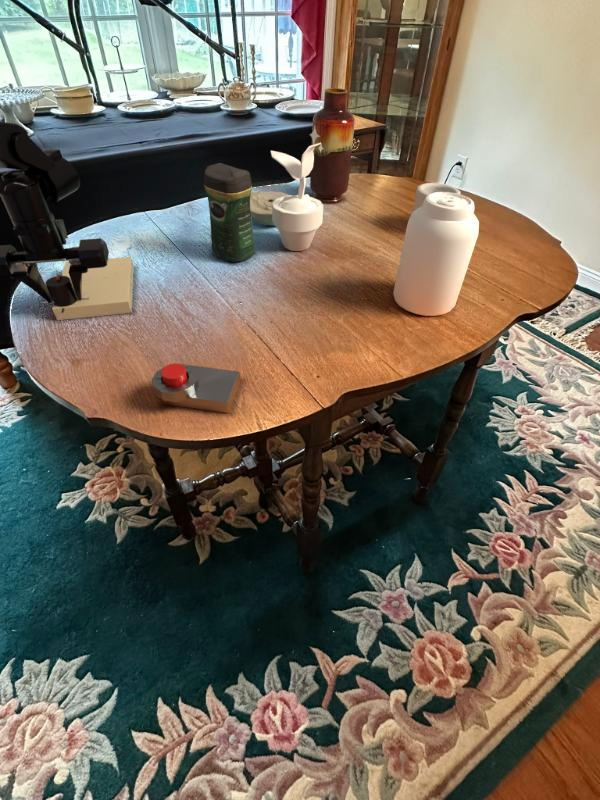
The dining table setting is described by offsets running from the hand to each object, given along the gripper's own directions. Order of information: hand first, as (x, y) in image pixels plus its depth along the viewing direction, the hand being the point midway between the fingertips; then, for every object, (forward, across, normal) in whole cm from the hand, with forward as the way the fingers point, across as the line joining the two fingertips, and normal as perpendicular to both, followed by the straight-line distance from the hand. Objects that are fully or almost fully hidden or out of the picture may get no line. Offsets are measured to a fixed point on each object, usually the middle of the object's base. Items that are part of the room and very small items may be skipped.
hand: (65, 300), depth 79 cm
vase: (+4, -65, -49) cm, 82 cm away
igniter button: (-1, -19, +27) cm, 33 cm away
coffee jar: (+3, -33, -18) cm, 38 cm away
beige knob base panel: (+3, -3, -6) cm, 7 cm away
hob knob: (0, 0, 0) cm, 0 cm away
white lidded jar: (+3, -68, +9) cm, 69 cm away
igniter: (+2, -22, +27) cm, 35 cm away
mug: (+3, -86, -24) cm, 89 cm away
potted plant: (+3, -48, -20) cm, 52 cm away
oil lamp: (+3, -43, -38) cm, 58 cm away
